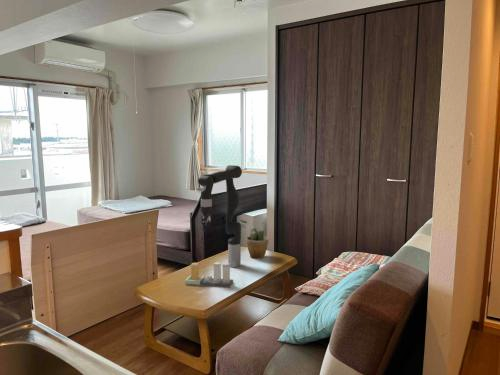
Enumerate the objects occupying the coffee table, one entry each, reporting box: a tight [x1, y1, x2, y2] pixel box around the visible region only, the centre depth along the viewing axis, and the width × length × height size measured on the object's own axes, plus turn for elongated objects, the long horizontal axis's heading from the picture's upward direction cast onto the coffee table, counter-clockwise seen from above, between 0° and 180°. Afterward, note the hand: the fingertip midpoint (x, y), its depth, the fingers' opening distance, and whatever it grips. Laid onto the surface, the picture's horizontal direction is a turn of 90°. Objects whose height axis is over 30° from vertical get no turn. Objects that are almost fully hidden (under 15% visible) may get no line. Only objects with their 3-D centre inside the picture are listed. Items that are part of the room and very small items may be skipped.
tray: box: [184, 274, 206, 287], centre depth 250 cm, size 10×10×3 cm
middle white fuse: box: [213, 261, 222, 282], centre depth 246 cm, size 3×4×12 cm
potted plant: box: [245, 226, 270, 260], centre depth 303 cm, size 18×19×25 cm
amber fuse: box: [190, 262, 200, 281], centre depth 249 cm, size 3×4×12 cm
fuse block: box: [201, 275, 234, 288], centre depth 247 cm, size 9×19×4 cm, turn 78°
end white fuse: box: [222, 262, 231, 283], centre depth 245 cm, size 3×4×12 cm
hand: (206, 229), depth 254 cm, fingers open, 8 cm apart
